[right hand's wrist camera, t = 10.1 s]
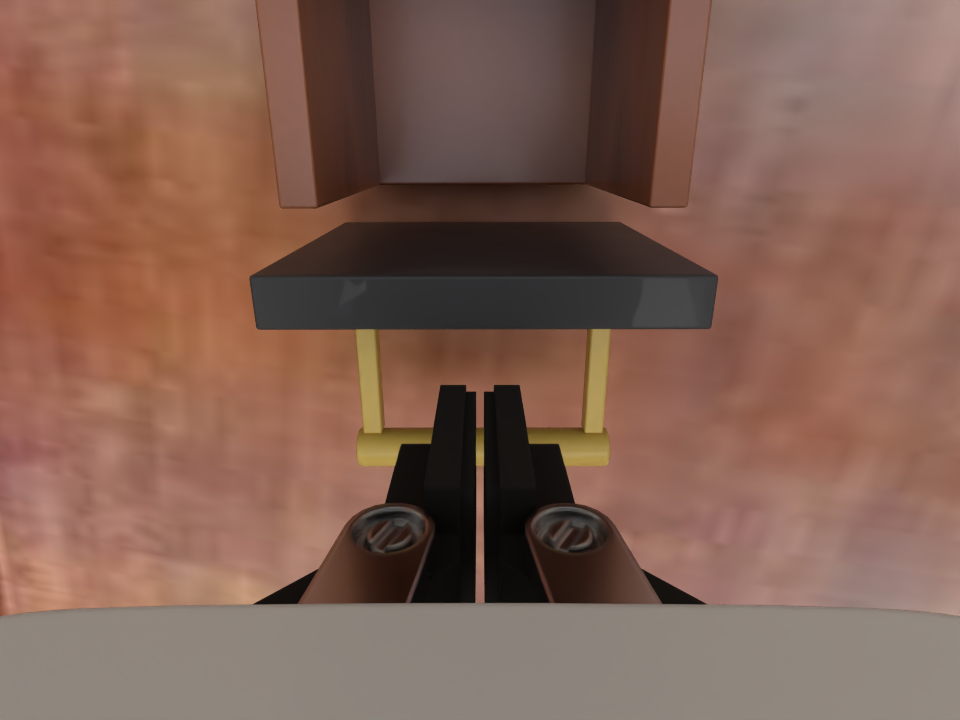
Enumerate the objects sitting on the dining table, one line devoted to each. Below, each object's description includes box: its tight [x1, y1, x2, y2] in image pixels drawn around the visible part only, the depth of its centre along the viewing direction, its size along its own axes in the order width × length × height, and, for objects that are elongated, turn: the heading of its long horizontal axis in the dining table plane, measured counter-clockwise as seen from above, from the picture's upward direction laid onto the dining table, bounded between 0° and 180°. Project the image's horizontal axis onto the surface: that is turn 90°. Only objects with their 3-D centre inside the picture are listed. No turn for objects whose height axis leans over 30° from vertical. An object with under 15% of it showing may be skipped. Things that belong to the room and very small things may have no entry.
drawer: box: [250, 0, 718, 466], centre depth 15 cm, size 22×10×9 cm, turn 0°
